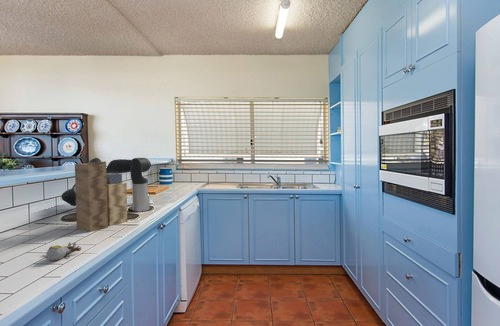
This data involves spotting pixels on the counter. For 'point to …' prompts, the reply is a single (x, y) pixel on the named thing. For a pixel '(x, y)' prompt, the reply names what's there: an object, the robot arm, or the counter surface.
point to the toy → (61, 251)
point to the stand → (91, 196)
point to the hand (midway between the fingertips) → (96, 174)
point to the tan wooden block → (116, 203)
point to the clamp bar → (113, 178)
